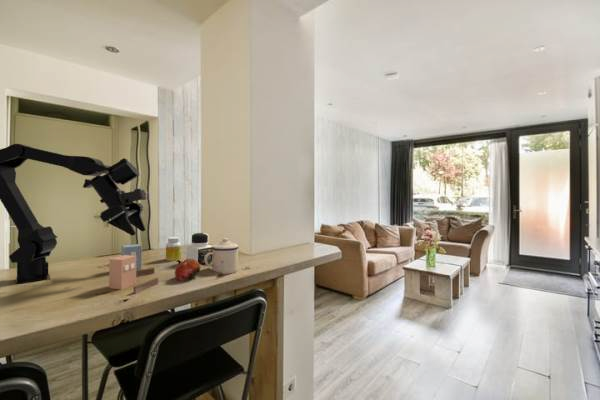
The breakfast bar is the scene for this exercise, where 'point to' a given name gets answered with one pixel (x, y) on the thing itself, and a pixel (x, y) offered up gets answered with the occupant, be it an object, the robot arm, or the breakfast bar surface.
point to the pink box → (122, 271)
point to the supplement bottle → (173, 249)
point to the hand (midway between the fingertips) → (139, 232)
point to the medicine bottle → (199, 249)
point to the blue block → (133, 253)
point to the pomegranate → (187, 269)
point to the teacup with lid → (223, 257)
